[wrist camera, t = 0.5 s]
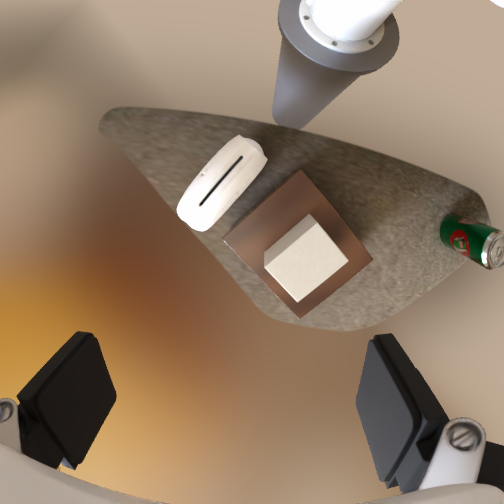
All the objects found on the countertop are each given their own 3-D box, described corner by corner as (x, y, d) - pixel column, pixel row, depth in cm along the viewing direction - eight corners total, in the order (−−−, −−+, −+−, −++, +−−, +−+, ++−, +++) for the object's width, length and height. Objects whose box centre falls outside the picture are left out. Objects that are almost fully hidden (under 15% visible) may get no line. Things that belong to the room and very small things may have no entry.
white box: (264, 252, 33) (264, 267, 28) (309, 213, 31) (317, 222, 26) (293, 283, 34) (297, 302, 29) (337, 247, 32) (349, 261, 27)
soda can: (466, 219, 36) (516, 239, 25) (455, 249, 38) (502, 277, 26) (444, 208, 36) (495, 225, 24) (433, 239, 37) (481, 266, 26)
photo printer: (218, 219, 38) (198, 244, 26) (193, 197, 37) (162, 213, 25) (272, 159, 35) (276, 156, 24) (246, 137, 35) (238, 123, 23)
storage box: (228, 227, 38) (221, 238, 32) (294, 168, 36) (300, 168, 30) (294, 298, 41) (299, 319, 35) (358, 245, 38) (373, 259, 32)
